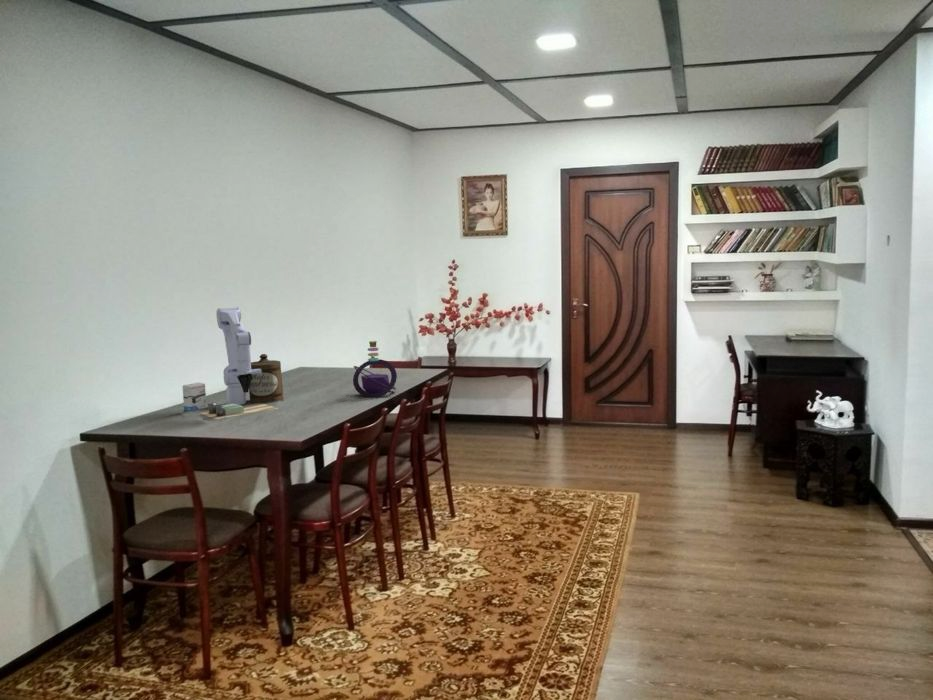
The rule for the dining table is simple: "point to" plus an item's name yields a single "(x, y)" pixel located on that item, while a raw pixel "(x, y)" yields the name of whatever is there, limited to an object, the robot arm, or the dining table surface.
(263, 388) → the wooden container
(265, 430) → the dining table surface
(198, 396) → the ink box
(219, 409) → the cylinder
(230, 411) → the mint green book-shaped slab
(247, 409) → the bench board
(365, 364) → the decorative bottle
